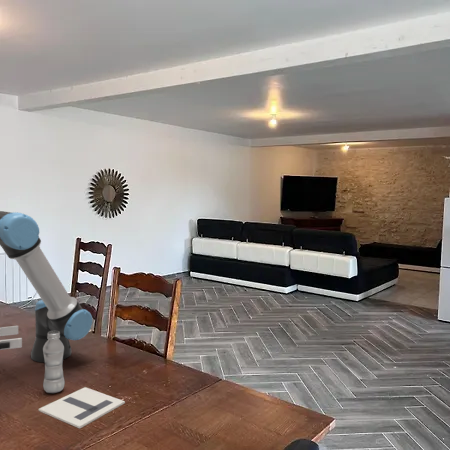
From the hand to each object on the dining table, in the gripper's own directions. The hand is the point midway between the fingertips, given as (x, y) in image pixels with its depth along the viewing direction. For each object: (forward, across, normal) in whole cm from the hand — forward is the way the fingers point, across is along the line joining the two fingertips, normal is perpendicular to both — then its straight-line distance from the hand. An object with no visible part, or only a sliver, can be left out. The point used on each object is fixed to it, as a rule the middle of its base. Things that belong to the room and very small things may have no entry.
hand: (20, 335), depth 140 cm
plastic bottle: (+10, 0, -20) cm, 23 cm away
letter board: (+17, +15, -20) cm, 30 cm away
